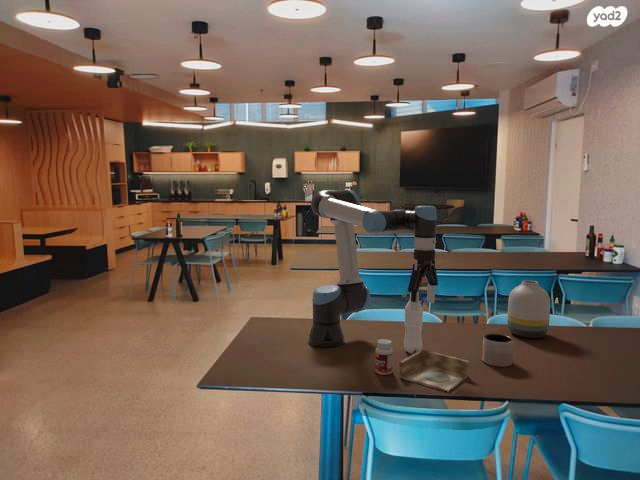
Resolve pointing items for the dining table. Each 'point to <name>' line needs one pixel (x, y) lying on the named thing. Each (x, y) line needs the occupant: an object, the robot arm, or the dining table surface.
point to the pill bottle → (384, 357)
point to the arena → (434, 370)
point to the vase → (528, 310)
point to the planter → (497, 350)
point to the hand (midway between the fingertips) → (422, 306)
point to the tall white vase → (413, 328)
